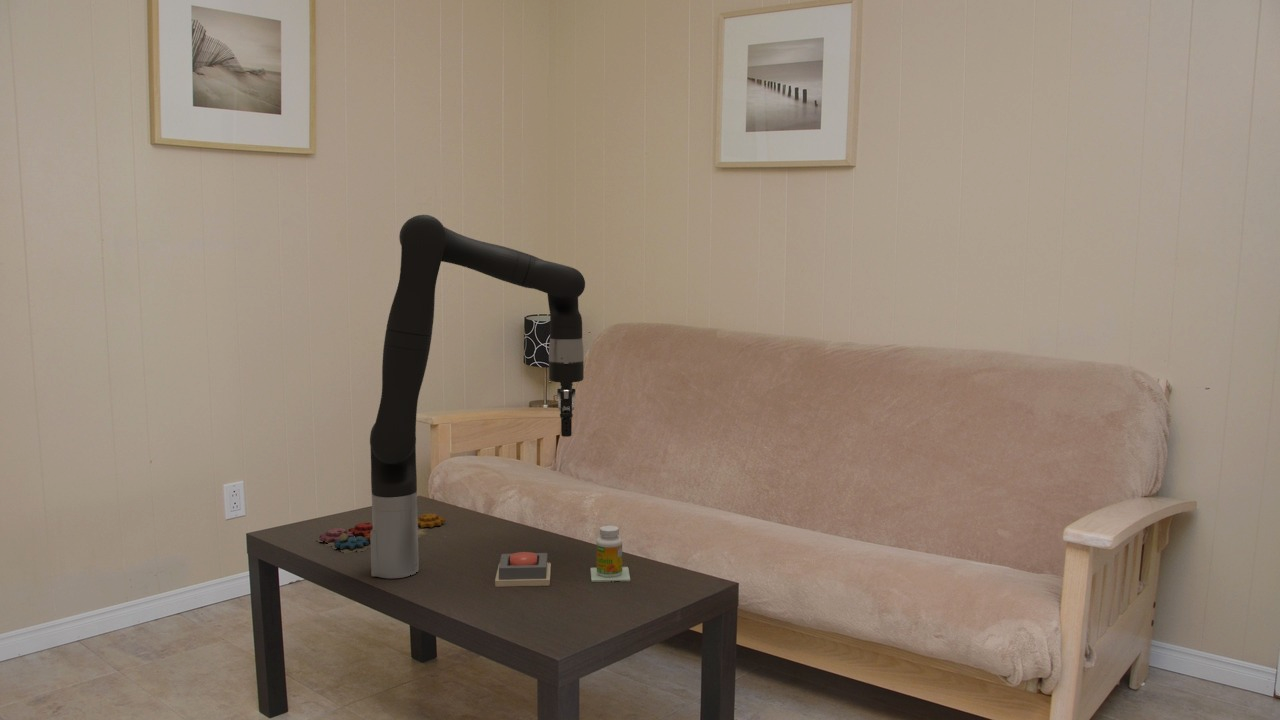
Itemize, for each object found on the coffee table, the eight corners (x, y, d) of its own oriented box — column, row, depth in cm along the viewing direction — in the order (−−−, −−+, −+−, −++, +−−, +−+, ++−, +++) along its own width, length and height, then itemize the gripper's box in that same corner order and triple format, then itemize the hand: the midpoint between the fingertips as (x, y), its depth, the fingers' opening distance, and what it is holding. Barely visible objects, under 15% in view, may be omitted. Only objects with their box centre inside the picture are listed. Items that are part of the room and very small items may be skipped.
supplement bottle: (592, 575, 200) (592, 530, 199) (603, 568, 205) (602, 523, 204) (616, 578, 198) (615, 532, 197) (626, 571, 203) (626, 526, 202)
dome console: (495, 586, 194) (494, 569, 194) (499, 569, 205) (498, 552, 204) (549, 585, 195) (549, 568, 194) (550, 568, 206) (550, 551, 205)
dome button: (509, 574, 197) (509, 560, 196) (510, 566, 202) (510, 552, 202) (536, 574, 197) (536, 559, 197) (537, 565, 203) (537, 551, 202)
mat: (591, 582, 197) (591, 580, 197) (590, 569, 205) (590, 567, 205) (630, 581, 197) (630, 579, 197) (627, 568, 205) (627, 567, 205)
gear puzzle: (427, 518, 247) (427, 502, 247) (463, 530, 236) (463, 514, 235) (313, 542, 225) (312, 525, 225) (346, 558, 214) (345, 540, 214)
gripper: (549, 355, 215) (550, 427, 217) (548, 362, 201) (548, 439, 203) (583, 355, 216) (583, 426, 218) (583, 362, 202) (584, 438, 204)
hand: (566, 432), depth 210 cm, fingers open, 8 cm apart
